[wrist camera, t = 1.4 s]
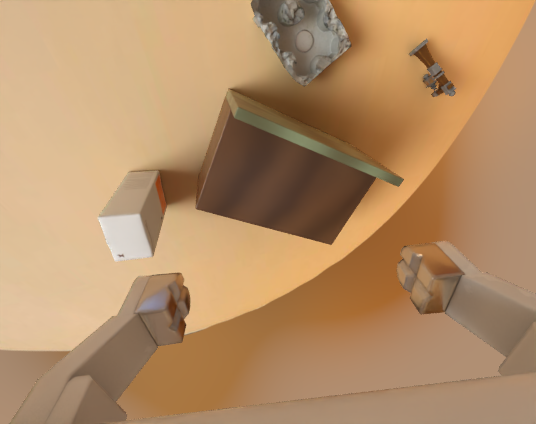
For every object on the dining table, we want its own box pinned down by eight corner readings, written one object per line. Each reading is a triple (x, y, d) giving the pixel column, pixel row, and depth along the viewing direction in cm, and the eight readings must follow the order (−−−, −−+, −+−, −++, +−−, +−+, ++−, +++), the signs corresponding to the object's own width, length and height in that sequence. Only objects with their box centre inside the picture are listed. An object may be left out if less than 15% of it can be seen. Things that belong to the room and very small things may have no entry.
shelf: (198, 177, 38) (193, 228, 27) (228, 88, 32) (237, 106, 21) (311, 213, 45) (343, 263, 34) (351, 144, 40) (404, 179, 29)
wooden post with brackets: (432, 105, 38) (451, 99, 33) (400, 60, 37) (415, 48, 32) (443, 96, 37) (464, 89, 33) (411, 51, 36) (428, 37, 32)
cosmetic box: (168, 205, 39) (154, 258, 29) (138, 208, 38) (113, 263, 28) (159, 168, 36) (140, 213, 26) (126, 170, 35) (94, 217, 25)
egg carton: (340, 49, 33) (356, 48, 29) (293, 89, 34) (302, 93, 31) (296, -48, 27) (309, -62, 24) (241, 5, 28) (246, -1, 25)
